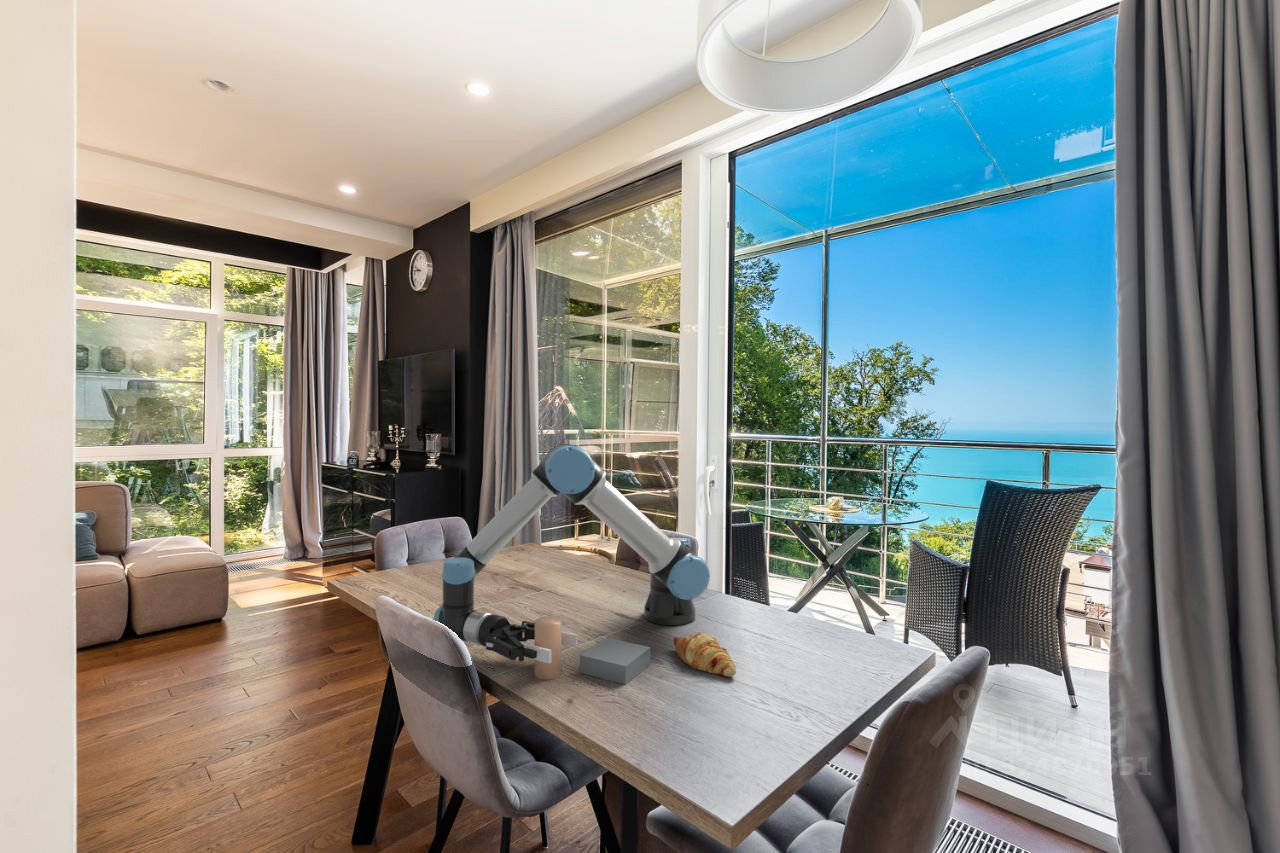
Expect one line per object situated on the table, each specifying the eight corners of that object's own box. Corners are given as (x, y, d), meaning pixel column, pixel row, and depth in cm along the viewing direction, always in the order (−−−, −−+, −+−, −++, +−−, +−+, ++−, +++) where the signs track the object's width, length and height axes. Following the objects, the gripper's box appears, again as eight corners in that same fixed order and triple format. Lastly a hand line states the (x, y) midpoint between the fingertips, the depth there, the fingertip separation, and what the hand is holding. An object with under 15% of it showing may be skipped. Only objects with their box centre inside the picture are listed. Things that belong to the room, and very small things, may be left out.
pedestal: (607, 653, 142) (607, 637, 142) (650, 664, 137) (650, 647, 136) (579, 672, 132) (579, 655, 132) (625, 684, 126) (625, 666, 126)
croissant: (743, 692, 131) (755, 657, 133) (715, 681, 125) (728, 645, 127) (682, 658, 148) (693, 627, 150) (655, 647, 142) (667, 616, 144)
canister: (545, 665, 135) (545, 614, 135) (566, 671, 132) (566, 619, 132) (528, 675, 130) (529, 622, 129) (550, 681, 127) (550, 627, 127)
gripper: (517, 630, 149) (590, 648, 139) (453, 662, 130) (532, 685, 119) (517, 601, 149) (591, 616, 138) (453, 629, 129) (532, 648, 119)
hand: (564, 648), depth 129 cm, fingers open, 9 cm apart
